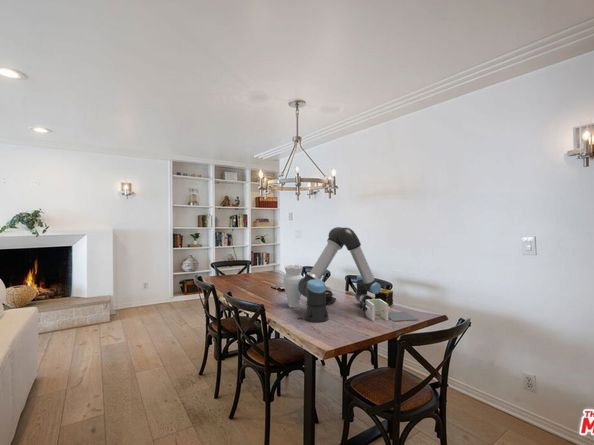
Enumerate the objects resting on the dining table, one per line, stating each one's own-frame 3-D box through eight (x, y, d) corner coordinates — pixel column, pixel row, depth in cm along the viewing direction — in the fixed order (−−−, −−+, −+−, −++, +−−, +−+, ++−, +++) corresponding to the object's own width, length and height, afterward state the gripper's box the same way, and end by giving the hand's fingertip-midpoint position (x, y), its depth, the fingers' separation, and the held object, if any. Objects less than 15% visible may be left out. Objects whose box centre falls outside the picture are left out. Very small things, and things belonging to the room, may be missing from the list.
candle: (374, 304, 219) (373, 290, 219) (380, 301, 226) (380, 288, 226) (387, 307, 212) (386, 293, 212) (393, 304, 219) (393, 290, 219)
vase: (279, 306, 216) (279, 266, 216) (294, 302, 226) (294, 263, 226) (292, 310, 205) (292, 268, 205) (308, 306, 215) (307, 266, 215)
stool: (372, 321, 182) (372, 304, 182) (365, 314, 195) (365, 299, 195) (388, 320, 184) (388, 304, 184) (380, 314, 196) (380, 298, 196)
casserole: (319, 308, 209) (319, 296, 209) (301, 303, 223) (301, 292, 223) (342, 302, 226) (342, 290, 226) (324, 297, 240) (324, 287, 240)
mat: (393, 321, 181) (393, 320, 181) (382, 313, 197) (382, 312, 197) (418, 320, 183) (418, 319, 183) (405, 312, 199) (405, 311, 199)
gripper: (383, 305, 208) (398, 315, 186) (349, 307, 204) (360, 317, 183) (383, 294, 208) (397, 303, 186) (349, 296, 204) (360, 304, 183)
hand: (379, 310), depth 185 cm, fingers open, 12 cm apart
